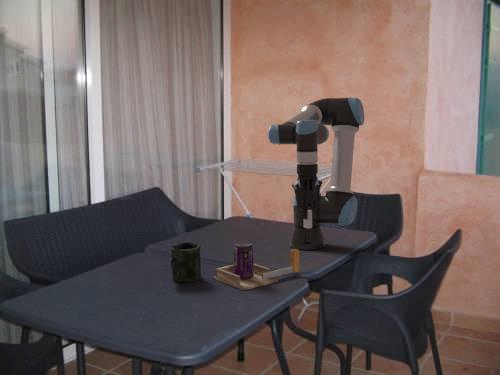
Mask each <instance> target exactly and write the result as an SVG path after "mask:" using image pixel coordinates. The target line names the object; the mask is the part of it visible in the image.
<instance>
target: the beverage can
mask: <svg viewBox="0 0 500 375" xmlns="http://www.w3.org/2000/svg"><path fill="white" fill-rule="evenodd" d="M233 246H234V247H233V250H232V252H233V254H232V256H233V258H232V260H233V263H232V264H233V265H234V274H236V275H239V276H240V279H249V278H251V277H252V276H254V264H255V262H254V247H253V243H252V242H248V241H247V242H246V241H243V242H242V241H241V242H235V243H234V245H233Z"/></svg>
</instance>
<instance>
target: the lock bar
mask: <svg viewBox="0 0 500 375" xmlns="http://www.w3.org/2000/svg"><path fill="white" fill-rule="evenodd" d="M289 252H290V255H289V256H290V257H289V258H290V266H287V267H283V268H279V269H275V270H270V272H266V273H262V279H263V280H265V279H269V278H277V277H279V276H280V277H281V276H283V275H287V274H292V273H293V274H294V273H299V272H300V249H294V248H291V249H290V250H289Z"/></svg>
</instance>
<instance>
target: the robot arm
mask: <svg viewBox="0 0 500 375" xmlns="http://www.w3.org/2000/svg"><path fill="white" fill-rule="evenodd" d="M364 124H365V111H364V106H363V102H362V100H361V99H360V98H358V97H331V98H329V97H324V98H320V99H318V100H315V101H313V102H311V103H309V104H307V105H305V106H304V107H303V108H302V109H301V111H300V112H299V113H298V114H296V115H294V116H293V117H291V118H290V119H288V120H287V121H284V122H283V123H282V124H279V123H277V124H271V125H270V126H269V128H268V133H267V135H268V136H267V137H268V140H269V142H270V143H271V144H272V145H279V146H280V145H296V162H297V164H296V174H297V180H296V182H295V183H292V184H291V186H292V188H293V190H294V197H293V203H292V204H293V205H292V208H293V209H292V210H293V231H292V233H291V238H290V240H289V247H290V248H291V249H298V250H299V251H300V250H301V251H314V250H315V251H316V250H321V249H323V248H326V240H325V237H324V233H323V231H322V224H329V225H339V226H342V225H346V226H348V225H351V224H352V223H353V221H354V220H355V218H356V215H357V212H358V199H357V197H355V196H354V191H353V190H352V189H351V188H352V187H351V186H352V174H353V160H354V150H355V149H354V148H355V138H356V136H355V135H356V133H357V132H359V130H360V127H361V126H363V125H364ZM327 126H331V127H330V128H331V130H332V131H333V132H334V137H333V138H334V139H333V146H332V147H333V148H332V158H331V159H332V160H331V171H330V180H329V181H330V183H329V188H328V189H326V191H325V195H322V193H321V187H322V184H323V181H322V180H319V179H318V176H317V174H319V170H318V169H319V167H318V166H319V165H318V163H317V162H318V160H319V159H318V158H319V157H318V156H319V155H318V153H319V152H318V145H322V144H324V143H326V142H327V141H328V139H329V137H330V132H329V128H328V127H327Z"/></svg>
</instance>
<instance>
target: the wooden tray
mask: <svg viewBox="0 0 500 375" xmlns="http://www.w3.org/2000/svg"><path fill="white" fill-rule="evenodd" d="M214 271H215V275H214V276H213V280H215V281H216V280H217V281H218V282H220V283H224V284H227V285H229V286H232V287H234V288H236V289H240V290H242V291H247V290H251V289H255V288H258V287H263V286H267V285H271V284H274V283H277V282H279V278H277V277H273V278H269V279H265V280H263V279H262V273H266V272H270V271H271V268H270V267H266V266H263V265H259V264H257V263H254V276H252V277H251V278H249V279H240V276H239V275H236V274H234V264H230V265H225V266H222V267H217V268H215V270H214Z"/></svg>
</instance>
